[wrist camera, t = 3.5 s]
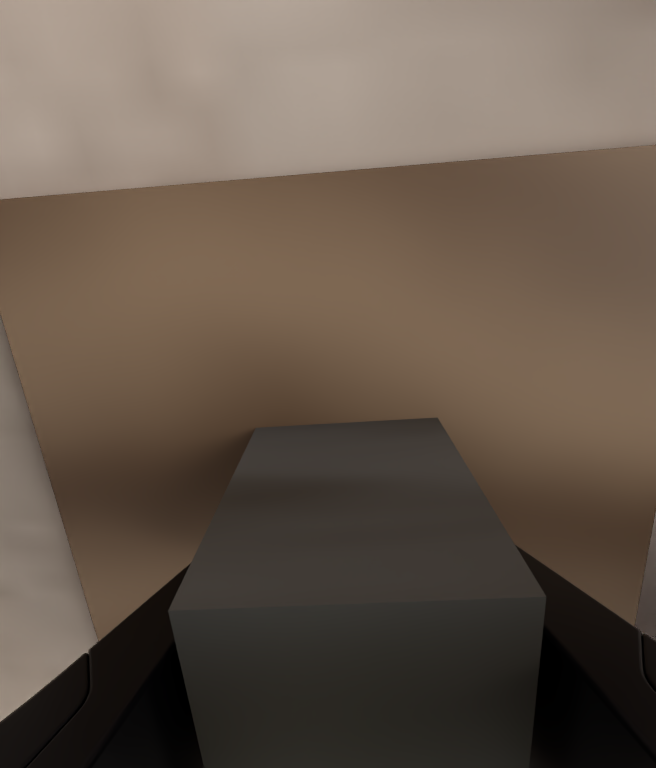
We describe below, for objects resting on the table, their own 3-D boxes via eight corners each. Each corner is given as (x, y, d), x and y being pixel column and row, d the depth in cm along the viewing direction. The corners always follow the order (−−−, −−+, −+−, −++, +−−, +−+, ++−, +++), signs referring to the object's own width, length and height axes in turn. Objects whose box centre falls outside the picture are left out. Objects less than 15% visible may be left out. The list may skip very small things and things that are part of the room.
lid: (601, 682, 12) (817, 1035, 7) (135, 695, 13) (-17, 1027, 7) (687, 149, 8) (1416, -70, 3) (-1, 207, 9) (-576, 126, 3)
